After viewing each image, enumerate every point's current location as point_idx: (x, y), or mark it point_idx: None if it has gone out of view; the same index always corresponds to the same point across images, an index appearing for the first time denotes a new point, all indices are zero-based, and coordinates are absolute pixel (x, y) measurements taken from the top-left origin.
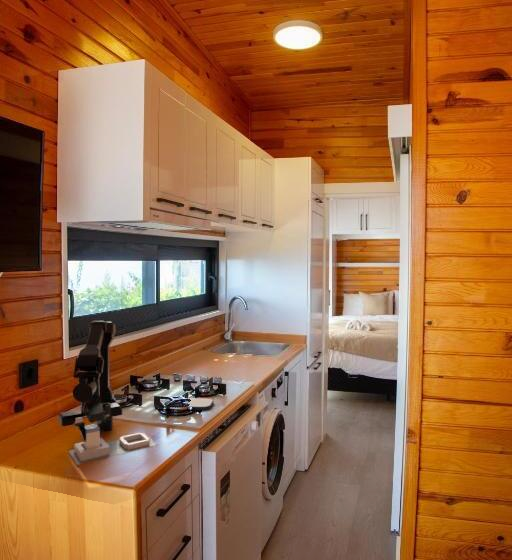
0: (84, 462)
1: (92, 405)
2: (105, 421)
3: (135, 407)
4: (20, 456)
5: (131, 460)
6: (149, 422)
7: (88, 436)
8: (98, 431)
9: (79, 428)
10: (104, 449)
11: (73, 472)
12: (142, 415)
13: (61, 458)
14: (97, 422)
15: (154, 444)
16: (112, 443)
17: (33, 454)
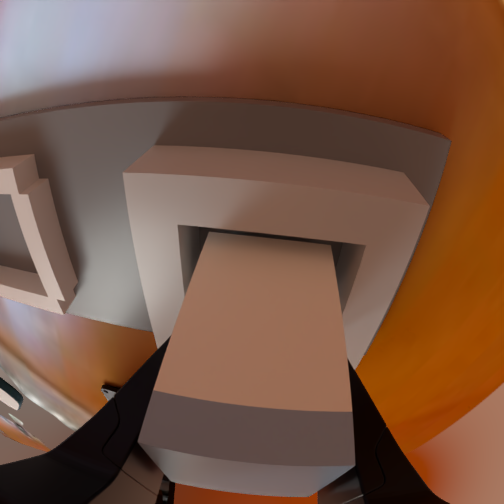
0: (399, 128)
1: None
2: (32, 469)
3: (66, 424)
4: (470, 388)
5: (58, 10)
6: (12, 355)
7: (326, 368)
8: (172, 388)
9: (422, 488)
10: (182, 167)
11: (487, 83)
12: (41, 394)
13: (417, 315)
14: (154, 486)
15: None
16: (113, 298)
17: (442, 387)
